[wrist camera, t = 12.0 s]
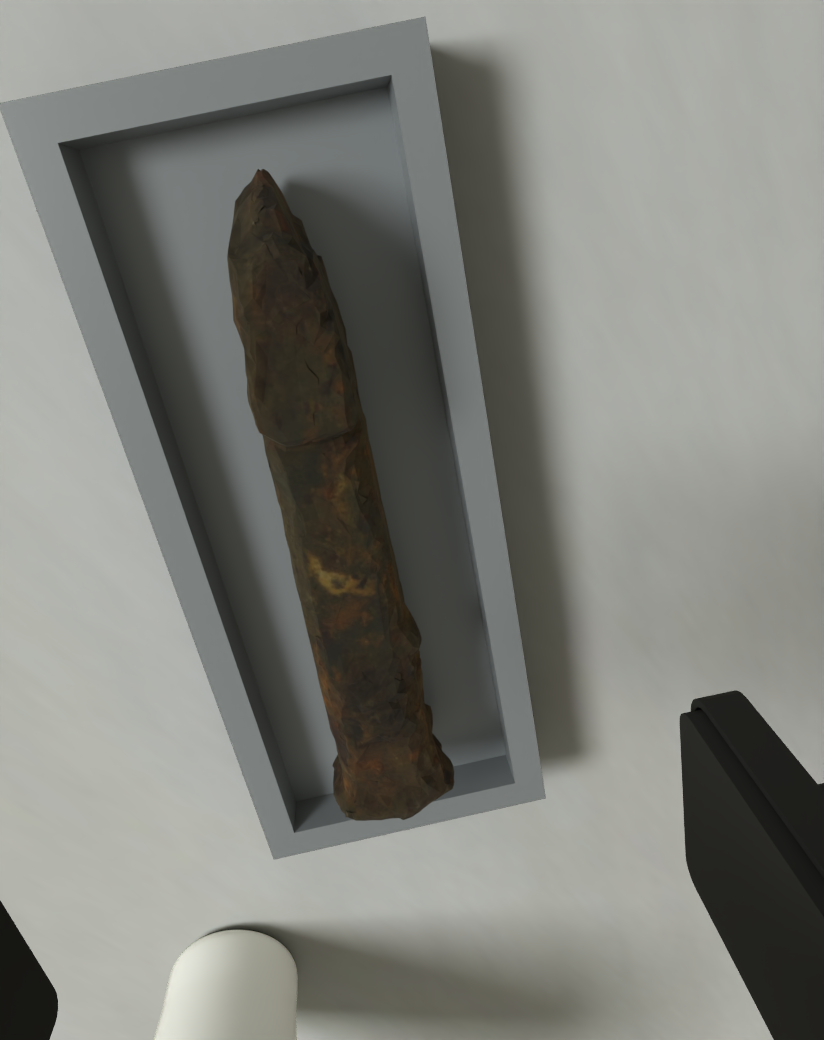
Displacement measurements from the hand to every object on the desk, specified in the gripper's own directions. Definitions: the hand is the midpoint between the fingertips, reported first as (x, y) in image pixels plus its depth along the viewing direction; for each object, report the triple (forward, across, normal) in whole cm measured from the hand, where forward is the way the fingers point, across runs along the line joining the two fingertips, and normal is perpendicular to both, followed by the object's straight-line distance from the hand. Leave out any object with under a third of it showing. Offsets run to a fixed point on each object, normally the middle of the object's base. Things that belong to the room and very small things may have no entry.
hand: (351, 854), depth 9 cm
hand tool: (+14, +1, +1) cm, 14 cm away
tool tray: (+15, +1, +1) cm, 15 cm away
